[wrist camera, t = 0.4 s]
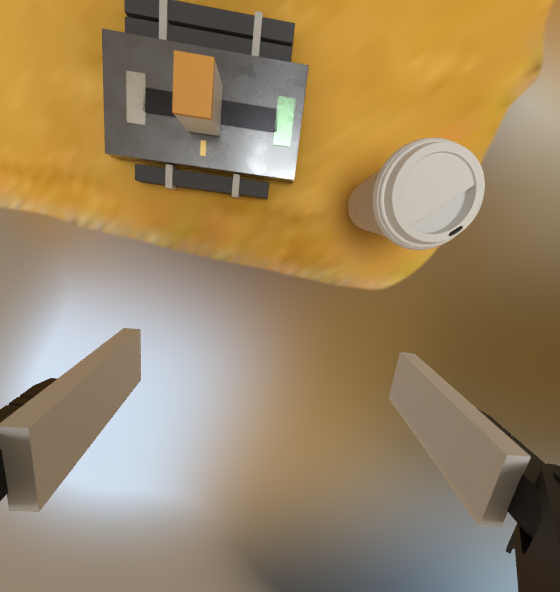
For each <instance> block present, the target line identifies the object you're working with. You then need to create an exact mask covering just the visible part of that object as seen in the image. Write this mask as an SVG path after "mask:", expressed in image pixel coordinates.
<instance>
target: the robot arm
mask: <svg viewBox="0 0 560 592" xmlns="http://www.w3.org/2000/svg"><path fill="white" fill-rule="evenodd" d="M140 346H141V345H140V329H129V328H123V329H122V330H121V331H119V332H118V333H117V334H116V335H114V336H113V337H112V338H110V339H109V340H108V341H106V342H105V343H104V344H102V345H101V346H100V347H99V348H97V349H96V350H95V351H93V352H92V353H91V354H89V355H88V356H87V357H86V358H84V359H83V360H82V361H80V362H79V363H78V364H76V365H75V366H74V367H73V368H71V369H70V370H69V371H67V372H66V373H65V374H63V375H62V376H61V377H59V378H58V379H55V378H50V379H48V380H45V381H43V382H41V383H39V384H36V385H34V386H33V387H31V388H30V389H28V390H27V391H26V392H25V393H23V394H21V395H20V397H17V398H16V399H14V400H13V401H12V402H10V403H9V405H8V406H7V405H6V406H5V407H3V408H2V409H0V501H1V500H2V499H3V498H4V497H5V495H6V494H7V498H8V504H9V510H10V511H33V512H39V511H40V510H41V509H42V507H43V506H44V505H45V504H46V502H47V501H48V500H49V498H50V497H51V496H52V494H53V493H54V492H55V491H56V489H57V488H58V487H59V485H60V484H61V483H62V481H63V480H64V479H65V478H66V476H67V475H68V474H69V472H70V471H71V470H72V469H73V467H74V466H75V465H76V463H77V462H78V461H79V459H80V458H81V457H82V456H83V454H84V453H85V452H86V450H87V449H88V448H89V446H90V445H91V444H92V443H93V441H94V440H95V439H96V437H97V436H98V435H99V434H100V432H101V431H102V429H103V428H104V427H105V426H106V424H107V423H108V422H109V421H110V419H111V418H112V417H113V415H114V414H115V413H116V411H117V410H118V409H119V407H120V406H121V405H122V404H123V402H124V401H125V400H126V398H127V397H128V396H129V395H130V393H131V392H132V391H133V389H134V388H135V387H136V386H137V384H138V383H139V382H140V380H141V353H140V352H141V349H140V348H141V347H140ZM389 399H390V401H391V402H392V403H393V405H394V406H395V408H396V409H397V411H398V412H399V413H400V415H401V416H402V418H403V419H404V420H405V422H406V423H407V425H408V426H409V428H410V429H411V430H412V432H413V433H414V435H415V436H416V437H417V439H418V440H419V442H420V443H421V445H422V446H423V447H424V449H425V450H426V451H427V453H428V454H429V456H430V457H431V459H432V460H433V461H434V463H435V464H436V466H437V467H438V469H439V470H440V471H441V473H442V474H443V476H444V477H445V478H446V480H447V481H448V483H449V484H450V486H451V487H452V488H453V490H454V491H455V493H456V494H457V495H458V497H459V498H460V500H461V501H462V502H463V504H464V505H465V507H466V508H467V510H468V511H469V513H470V514H471V515H472V517H473V518H474V520H475V521H476V522H477V524H478V525H479V526H491V527H501V526H502V524H503V522H504V519H505V517H506V515H507V512H509V513H510V515H511V516H512V517H513V518H514V519H515V520H516V522H517V525H516V527H515V530H514V532H513V534H512V536H511V539H510V541H509V543H508V546H507V549H506V552H508V553H511V551H512V549H515V554H516V567H517V578H518V591H519V592H560V466H558V465H553V464H545V463H544V462H543V461H541V460H540V459H539V458H538V457H537V456H536V455H534V454H533V453H532V452H531V451H530V450H529V449H528V448H526V447H525V446H524V445H523V444H522V443H521V442H519V441H518V440H517V439H516V438H515V437H514V436H511V434H510V433H509V432H508V431H507V430H506V429H504V428H502V427H501V425H500V424H498V423H497V422H496V421H495V420H494V419H493V418H492V417H490V416H489V415H487V414H486V413H484V412H482V411H480V410H479V409H477V408H475V407H474V406H473V405H472V404H471V403H470V402H469V401H467V400H466V399H465V398H464V397H463V396H462V395H461V394H460V393H458V392H457V391H456V390H455V389H454V388H453V387H451V386H450V385H449V384H448V383H447V382H446V381H445V380H443V379H442V378H441V377H440V376H439V375H438V374H437V373H436V372H435V371H433V370H432V369H431V368H430V367H429V366H428V365H427V364H425V363H424V362H423V361H422V360H421V359H420V358H419V357H418V356H416V355H415V354H413V353H402V352H400V355H399V360H398V363H397V367H396V371H395V375H394V379H393V383H392V387H391V391H390V395H389Z"/></svg>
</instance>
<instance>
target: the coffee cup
mask: <svg viewBox="0 0 560 592" xmlns="http://www.w3.org/2000/svg"><path fill="white" fill-rule="evenodd" d="M484 189H485V181H484V175H483V171H482V168H481V165H480V163H479V161H478V160H477V158H476V157H475V156H474V154H473V153H472V152H471V151H469V150H468V149H467V148H465V147H463V146H462V145H459V144H457V143H455V142H453V141H450V140H447V139H443V138H423V139H418V140H415V141H412V142H410V143H408V144H406V145H404V146H403V147H401V148H400V149H398V150H397V151H396V152H395V153H394V154H392V155H391V157H390V158H389V159H388V160H387V161H386V163H385V164H384V165H383V167H382V168H381V169H380V170H379V171H377V172H376V173H375V174H373V175H372V176H370V177H369V178H368V179H366V180H365V181H364V182H362V183H361V184H359V185H358V186H357V187H356V188H355V189H354V190H353V192H352V193H351V195H350V197H349V200H348V214H349V217H350V219H351V221H352V222H353V223H354V225H356V226H357V227H358V228H360V229H363V230H366V231H369V232H372V233H376V234H379V235H382V236H385V237H387V238H388V239H389V240H390V241H392V242H393V243H395V244H396V245H398V246H400V247H403V248H406V249H411V250H425V249H430V248H434V247H437V246H440V245H442V244H444V243H446V242H448V241H449V240H451V239H453V238H454V237H455V236H457V235H458V234H459V233H460V232H462V231H463V230H464V229H465V228H466V227H467V226H468V225H469V224H470V223H471V222H472V220H473V219H474V218H475V216H476V215H477V213H478V211H479V209H480V206H481V204H482V200H483V196H484Z"/></svg>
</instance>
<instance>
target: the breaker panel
mask: <svg viewBox="0 0 560 592" xmlns="http://www.w3.org/2000/svg"><path fill="white" fill-rule="evenodd" d="M102 50H103V88H104V126H105V153H106V154H108V155H110V156H112V157H115V158H118V159H125V160H132V161H139V162H147V163H154V164H161V165H166V164H167V165H173V166H175V167H182V168H189V169H197V170H204V171H211V172H218V173H225V174H232V175H233V174H238V175H240V176H247V177H254V178H261V179H268V180H275V181H282V182H290V183H292V182H293V181H294V178H295V170H296V162H297V154H298V146H299V138H300V130H301V122H302V114H303V106H304V98H305V90H306V82H307V74H308V66H309V65H304V64H298V63H293V62H287V61H281V60H276V59H270V58H264V57H259V56H253V55H248V54H242V53H236V52H231V51H225V50H219V49H214V48H208V47H202V46H197V45H191V44H186V43H180V42H174V41H169V40H163V39H157V38H152V37H146V36H141V35H135V34H129V33H124V32H118V31H112V30H107V29H102ZM174 50H176V51H182V52H188V53H193V54H199V55H205V56H210V57H214V58H215V62H216V65H217V69H218V72H219V75H220V79H221V82H222V86H223V90H222V106H221V122H220V136H215V135H208V134H202V133H195V132H189V131H187V130H186V129H185V127H184V126H183V125H182V124H181V122H180V121H179V120H178V119H177V117H176V116H175V115H174V114H173V113H172V102H173V63H174Z"/></svg>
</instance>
